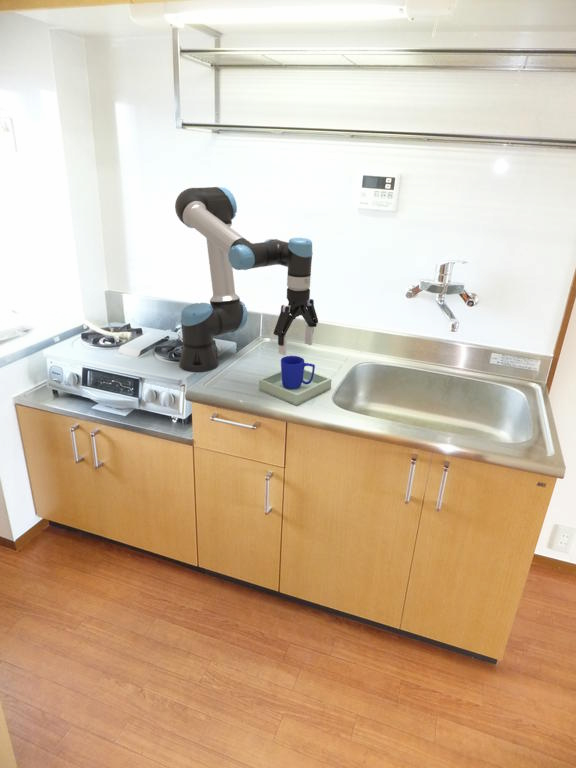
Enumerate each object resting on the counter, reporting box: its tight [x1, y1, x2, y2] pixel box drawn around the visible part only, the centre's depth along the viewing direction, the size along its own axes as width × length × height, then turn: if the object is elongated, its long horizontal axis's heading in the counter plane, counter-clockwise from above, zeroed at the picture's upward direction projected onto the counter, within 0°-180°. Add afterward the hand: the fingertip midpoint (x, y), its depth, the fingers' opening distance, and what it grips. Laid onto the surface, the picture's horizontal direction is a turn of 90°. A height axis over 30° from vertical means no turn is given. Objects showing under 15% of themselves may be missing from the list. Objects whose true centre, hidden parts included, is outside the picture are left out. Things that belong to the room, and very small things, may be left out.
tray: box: [258, 368, 332, 407], centre depth 178 cm, size 18×19×4 cm
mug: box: [280, 355, 316, 389], centre depth 177 cm, size 8×12×10 cm
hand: (295, 348), depth 173 cm, fingers open, 13 cm apart
